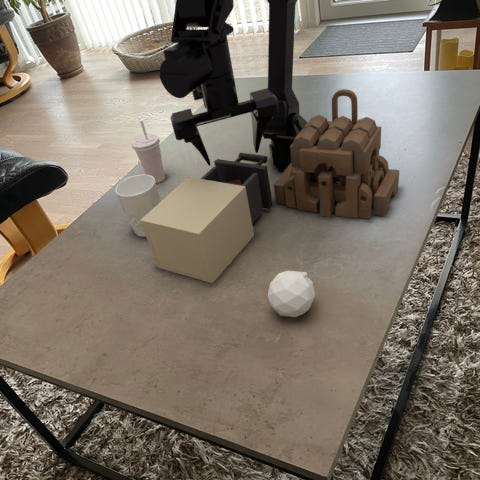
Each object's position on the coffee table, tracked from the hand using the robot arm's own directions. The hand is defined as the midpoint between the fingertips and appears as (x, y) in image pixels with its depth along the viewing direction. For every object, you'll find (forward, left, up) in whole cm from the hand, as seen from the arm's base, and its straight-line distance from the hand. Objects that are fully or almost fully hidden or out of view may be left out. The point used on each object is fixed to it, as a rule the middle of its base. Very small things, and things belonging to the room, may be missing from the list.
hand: (232, 158), depth 92 cm
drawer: (+1, +3, -10) cm, 11 cm away
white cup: (+19, -2, -11) cm, 23 cm away
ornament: (-2, +32, -12) cm, 34 cm away
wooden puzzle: (-19, +4, -11) cm, 22 cm away
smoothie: (+16, -22, -11) cm, 30 cm away
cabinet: (+9, +11, -11) cm, 18 cm away
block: (+2, +3, -9) cm, 10 cm away
